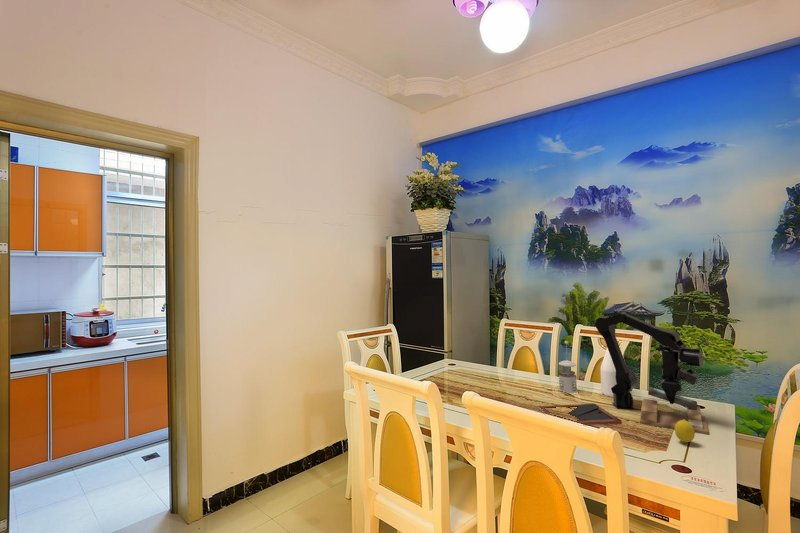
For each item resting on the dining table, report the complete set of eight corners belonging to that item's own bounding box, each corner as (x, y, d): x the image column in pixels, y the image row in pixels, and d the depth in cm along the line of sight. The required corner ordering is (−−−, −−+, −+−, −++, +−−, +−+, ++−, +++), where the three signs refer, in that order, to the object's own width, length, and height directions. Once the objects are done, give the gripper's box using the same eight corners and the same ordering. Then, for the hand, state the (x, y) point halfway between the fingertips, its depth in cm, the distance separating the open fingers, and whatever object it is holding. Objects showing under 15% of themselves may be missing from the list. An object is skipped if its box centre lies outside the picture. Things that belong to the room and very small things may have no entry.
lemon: (695, 448, 132) (694, 423, 132) (675, 444, 135) (674, 420, 135) (694, 441, 137) (693, 418, 137) (674, 438, 140) (673, 415, 140)
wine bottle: (616, 391, 194) (614, 329, 194) (628, 397, 184) (625, 332, 185) (597, 391, 193) (595, 330, 194) (608, 398, 184) (605, 333, 184)
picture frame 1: (594, 407, 174) (538, 410, 173) (594, 403, 174) (538, 405, 173) (621, 425, 154) (558, 428, 153) (621, 420, 154) (558, 423, 153)
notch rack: (639, 423, 154) (639, 410, 154) (642, 409, 168) (641, 398, 168) (708, 434, 142) (707, 420, 142) (705, 419, 156) (704, 406, 156)
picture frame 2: (647, 394, 161) (649, 389, 160) (648, 391, 165) (649, 385, 164) (696, 410, 152) (697, 404, 152) (695, 406, 156) (697, 400, 156)
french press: (557, 394, 192) (555, 342, 192) (557, 387, 203) (555, 338, 203) (579, 396, 188) (577, 343, 188) (578, 388, 199) (577, 338, 199)
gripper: (696, 370, 146) (698, 413, 146) (694, 360, 162) (695, 398, 161) (660, 366, 152) (662, 407, 152) (661, 357, 168) (662, 394, 168)
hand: (671, 402), depth 158 cm, fingers closed on picture frame 2, 5 cm apart
